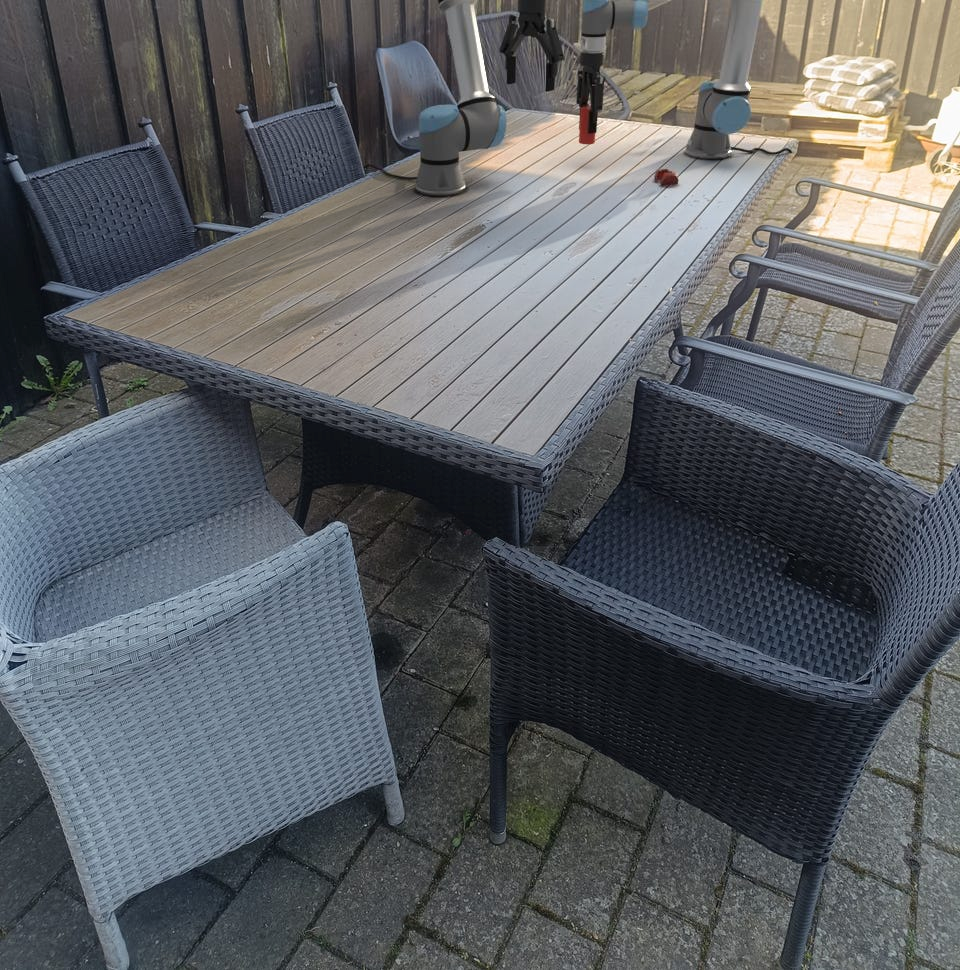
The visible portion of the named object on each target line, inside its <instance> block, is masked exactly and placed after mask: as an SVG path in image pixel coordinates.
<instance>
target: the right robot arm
mask: <svg viewBox="0 0 960 970" xmlns="http://www.w3.org/2000/svg"><path fill="white" fill-rule="evenodd" d="M671 1H672V0H583V2H582V3H583V4H582V10H581V12H582V14H581V38H580V50H581V51H580V53H579V66H581V67H582V69H580V70H577V71H576V73H577V85H576V102H575V103H576V105H578V107H579V114H580V113H581V107H584V106H591V110H589V123H588V134H591V133H595V134H597V129H598V118H599V112H601V111H603V108H604V107H603V106H604V92H605V91H604V89H605V83H606V76H605V75H604V76H602V75H601V67H602V66H603V67H604V65H605V56H606V53H605V52H604V51H605V50H606V43H607V42H606V40H607V30H633V31H634V30H640V29H644V28H645V27H646V25H647V22H648V16H649V12H650V11H651V10H653V9H656V8H658V7H660V6H663V5H664V4H665V5H666V4H667V3H669V2H671ZM762 6H763V0H732V5H731V10H730V15H729V21H728V27H727V34H726V39H725V44H724V51H723V57H722V62H721V67H720V68H721V69H720V73H719V74H720V75H719V79H718V80H717V81H703V82H702V83H701V84H700V86H699V90H698V93H697V94H698V96H697V97H698V98H697V104H696V110H695V111H696V112H695V120H694V125H693V130H692V133H691V135H690V137H689V138H688V140H687V141H686V146H685V151H684V152H685V154H686V155H687V156H689V157H692V158H696V159H701V160H721V159H726V158H729V157H730V156H731V154H732V153H731V152H732V150H733V151H738V152H743V153H748V154H751V153H753V152H756V151H758V152H762V153H764V154H766V155H770V156H771V155H772V156H775V155H780V154H782V153H784V152H788V153H789V154H792V153H793V151H792V150H791V149H790V148H789V147H784V148H782V149H780V150H777V151H770V150H769V151H768V150H766V149H764V148H762V147H754V148H752V149H745V148H740V147H735V146H731V139H730V135H732V134H736V133H738V132H740V131H741V130H742V129H744V128H745V127H746V126H747V124H748V123H749V121H750V119H751V116H752V107H751V104H750V102H749V100H750V95H751V89H752V88H751V86H750V84H749V83H748V79H749V75H750V74H749V73H750V69H751V63H752V58H753V53H754V47H755V43H756V36H757V32H758V25H759V21H760V17H761V9H762ZM589 100H590V101H589ZM589 102H590V103H589ZM578 130H580V118H579V119H578Z"/></svg>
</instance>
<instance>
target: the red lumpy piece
mask: <svg viewBox="0 0 960 970" xmlns="http://www.w3.org/2000/svg"><path fill="white" fill-rule="evenodd" d="M678 177H679V176H677V173H676V171H673V170H670V169H669V168H660V169H657V170H656V172H655V174H654V178H653V181H654V182H659V181H660V183H659V184H660V186H661V187H664V186H665V187H667V186H677V185H679V178H678Z"/></svg>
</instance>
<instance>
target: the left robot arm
mask: <svg viewBox="0 0 960 970" xmlns="http://www.w3.org/2000/svg"><path fill="white" fill-rule="evenodd" d="M477 2H478V0H437V3H438V8H439V9H440V10H441V11H442V12H443V13H444V14H445V18H446V23H447V24H446V25H447V28H448V35H449V41H450V46H451V52H452V57H453V63H454V66H455V67H454V69H455V74H456V81H457V84H458V85H457V86H458V92H459V96H460V99H459V101H458V102H457V104H456V105H455V104H449V103H448V104H438V105H433V106H429V107H426V108H425V109H423V110H422V111H421V112H420V114H419V116H418V118H419V119H418V120H419V121H418V136H419V138H418V139H419V157H420V158H419V159H420V161H419V162H420V164H419V168H418V172H417V176H403V175H402V176H401V175H398V174H393V173H389V172H387V170H385V169H384V168H383V167H380V166H378V165H375V164H373V163H367V164H366V163H365V165H364V166H363V169H367V168H368V167H371V168H373V169H376V170H379V171H380V172H382V173H383V174H384V175H386V176H388V177H392V178H395V179H401V180H406V181H415V185H414V186H415V192H417V193H418V194H420V195H424V196H430V197H450V196H455V195H459V194H461V193H463V192H464V191H466V181H465V179H464V172H462V169H461V165H460V153H462V152H470V151H477V150H489V149H490V148H497V147H498V146H500V145H501V143H502V142H503V141H504V139H505V135H506V133H507V132H506V131H507V115H506V111H505V109H504V107H503V106H502V105H500V104H497V103H496V97H495V96H494V95H493V94H491V93H490V92H489V85H488V80H487V73H486V69H485V62H484V55H483V52H482V51H483V50H482V45H481V39H480V34H479V33H480V32H479V28H478V22H477V16H476V10H475V6H476V4H477ZM548 5H549V0H517V12H518V13H519V14H518V13H513V14H509V15H508V25H507V27H506V29H505V30H506V31H505V33H504V36H503V38H502V41H501V45H500V47H499V50H498V51H499V53H500V54H503V55H504V58H505V59H504V60H505V63H504V64H505V65H504V66H505V67H504V68H505V70H506V85H514V84H516V77H517V56H516V54H515V53H516V52H517V50H518V48H519V47H520V45H521V44H522V42H523V41H524V40H525V38H526V37H530V38H535V39H536V41H538V42H539V45H540V46H541V49H542V51H543V52H544V55H545V57H546V59H547V61H548V62H547V63H546V66H545V67H546V68H545V89H544V90H545V93H546V92H548V93H549V92H553V91H555V87H556V86H555V85H556V84H555V83H556V82H555V81H556V79H555V78H556V77H557V76H558V64H559V63H560V62H564V61H565V54H564V51H563V48H562V45H561V44H562V43H561V40H560V36H559V33H558V29H557V19H556V17H555V18H554V17H553V18H547V12H548V10H549V9H548ZM518 26H519V27H518ZM382 170H383V171H382Z"/></svg>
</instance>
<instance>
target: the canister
mask: <svg viewBox="0 0 960 970" xmlns="http://www.w3.org/2000/svg"><path fill="white" fill-rule="evenodd" d="M589 110H591V105H589V106H584V107H581V113H580V112H579V119H580V130H579V129H578V130H579V131H578V132H579V133H578V143H579V144H581V145H594V144H595V143H596V133H591V134H588V123H589Z"/></svg>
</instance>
